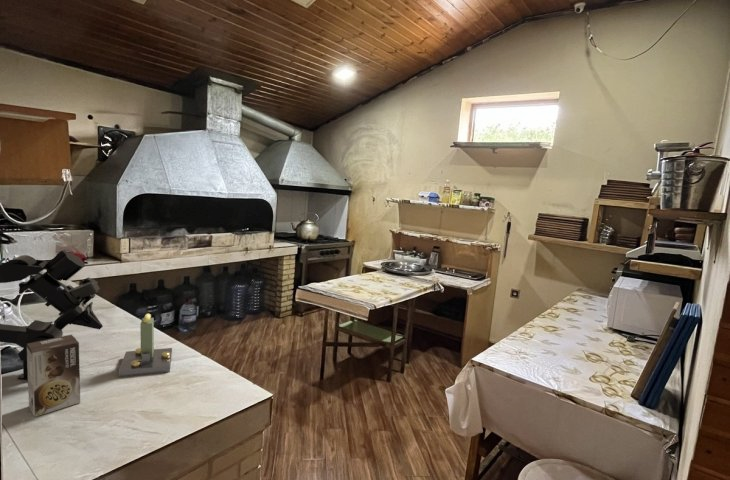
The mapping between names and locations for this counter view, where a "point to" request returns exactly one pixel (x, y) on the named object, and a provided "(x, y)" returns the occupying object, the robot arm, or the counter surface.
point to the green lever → (147, 335)
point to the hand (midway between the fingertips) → (101, 327)
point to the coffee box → (53, 374)
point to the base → (145, 362)
